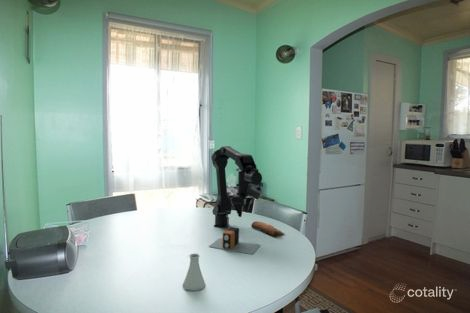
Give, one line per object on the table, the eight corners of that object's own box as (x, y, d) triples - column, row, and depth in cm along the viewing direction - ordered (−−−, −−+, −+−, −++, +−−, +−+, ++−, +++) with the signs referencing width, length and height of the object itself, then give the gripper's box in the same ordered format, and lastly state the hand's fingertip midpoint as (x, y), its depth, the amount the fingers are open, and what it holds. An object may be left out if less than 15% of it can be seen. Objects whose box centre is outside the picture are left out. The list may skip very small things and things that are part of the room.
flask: (183, 280, 96) (184, 250, 95) (205, 279, 96) (206, 250, 96) (181, 292, 89) (181, 260, 88) (205, 291, 89) (205, 260, 88)
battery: (239, 227, 130) (231, 234, 120) (239, 242, 130) (230, 250, 121) (230, 226, 131) (221, 233, 122) (230, 241, 132) (221, 248, 122)
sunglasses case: (286, 234, 143) (282, 224, 141) (277, 243, 140) (272, 233, 138) (263, 225, 158) (258, 215, 156) (254, 233, 155) (249, 224, 152)
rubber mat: (208, 247, 125) (208, 246, 125) (219, 238, 135) (219, 238, 135) (252, 254, 118) (252, 253, 118) (260, 245, 128) (260, 244, 128)
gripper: (254, 185, 123) (253, 221, 124) (266, 180, 141) (265, 211, 142) (230, 183, 127) (229, 218, 128) (244, 178, 145) (243, 209, 146)
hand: (243, 214), depth 136 cm, fingers open, 9 cm apart
